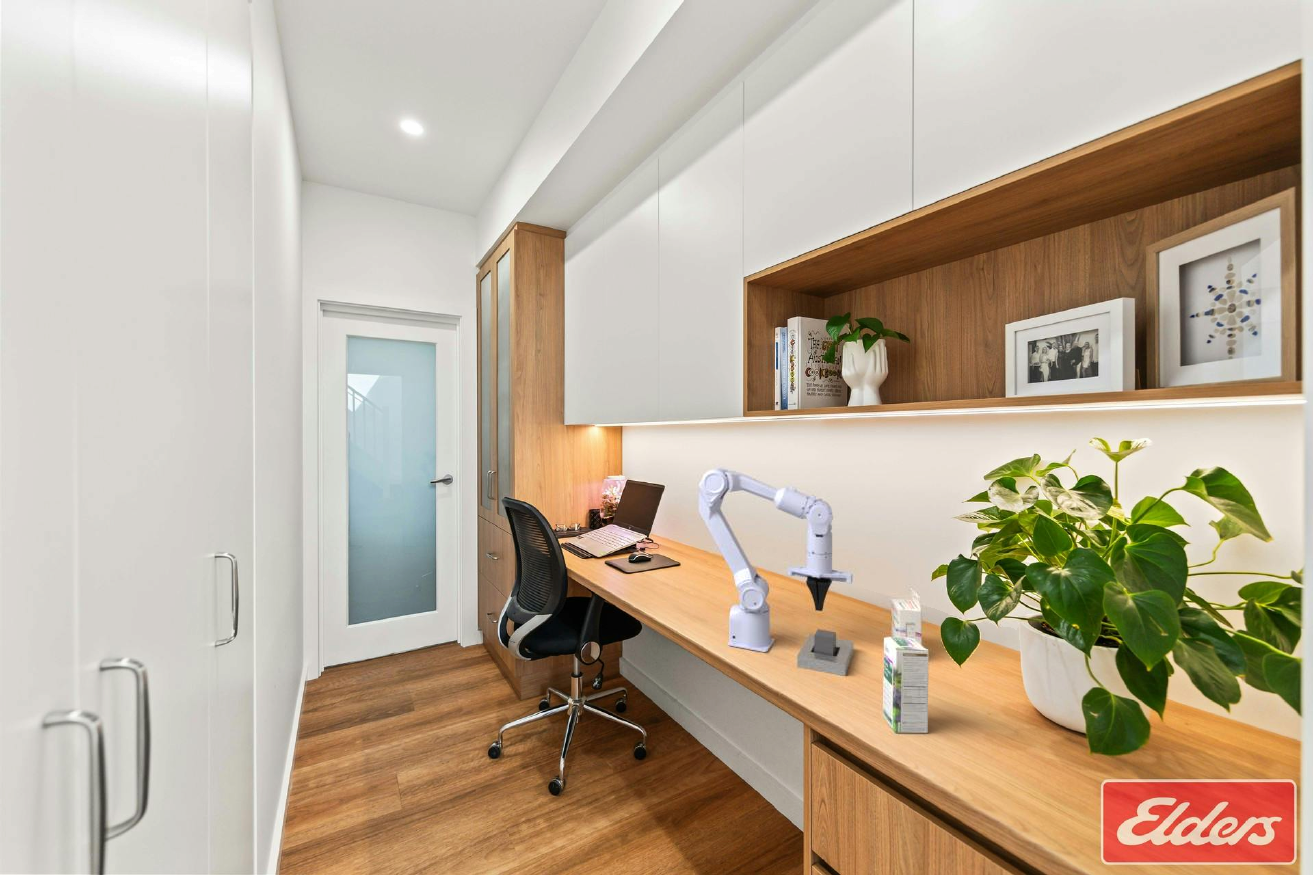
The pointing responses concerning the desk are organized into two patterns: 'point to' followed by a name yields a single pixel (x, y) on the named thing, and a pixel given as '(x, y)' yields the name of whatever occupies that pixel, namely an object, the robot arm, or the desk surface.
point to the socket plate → (826, 657)
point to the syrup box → (905, 685)
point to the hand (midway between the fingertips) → (819, 609)
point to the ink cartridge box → (907, 617)
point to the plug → (825, 642)
